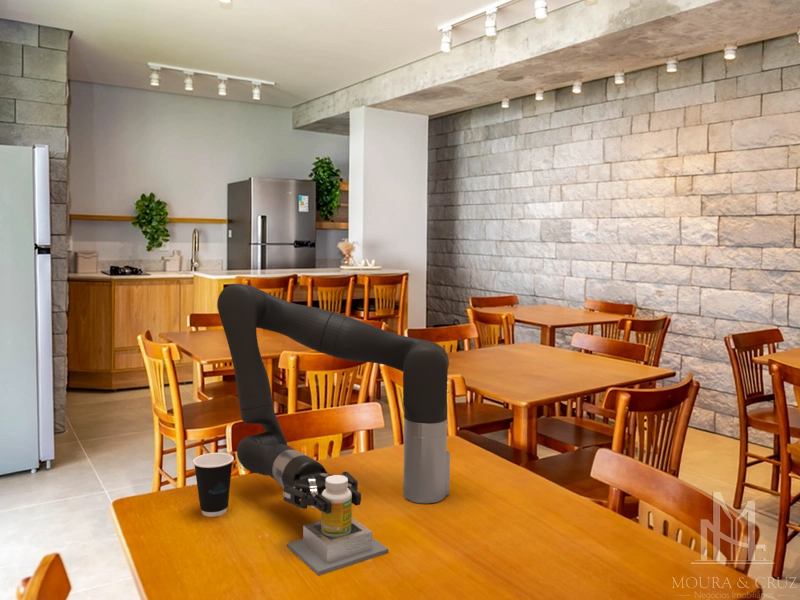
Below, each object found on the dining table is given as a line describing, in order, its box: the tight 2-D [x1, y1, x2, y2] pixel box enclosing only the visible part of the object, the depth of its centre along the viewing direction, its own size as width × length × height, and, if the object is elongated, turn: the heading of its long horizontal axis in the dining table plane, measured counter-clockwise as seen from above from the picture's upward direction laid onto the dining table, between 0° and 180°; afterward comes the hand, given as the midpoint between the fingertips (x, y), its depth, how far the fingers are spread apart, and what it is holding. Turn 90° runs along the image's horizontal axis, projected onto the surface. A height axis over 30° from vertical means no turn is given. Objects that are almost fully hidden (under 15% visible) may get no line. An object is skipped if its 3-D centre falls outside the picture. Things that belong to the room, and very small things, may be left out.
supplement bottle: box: [320, 474, 353, 537], centre depth 117 cm, size 5×5×10 cm
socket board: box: [286, 517, 389, 576], centre depth 118 cm, size 14×12×4 cm
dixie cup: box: [192, 452, 234, 518], centre depth 133 cm, size 8×8×11 cm
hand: (344, 503), depth 115 cm, fingers closed on supplement bottle, 5 cm apart
